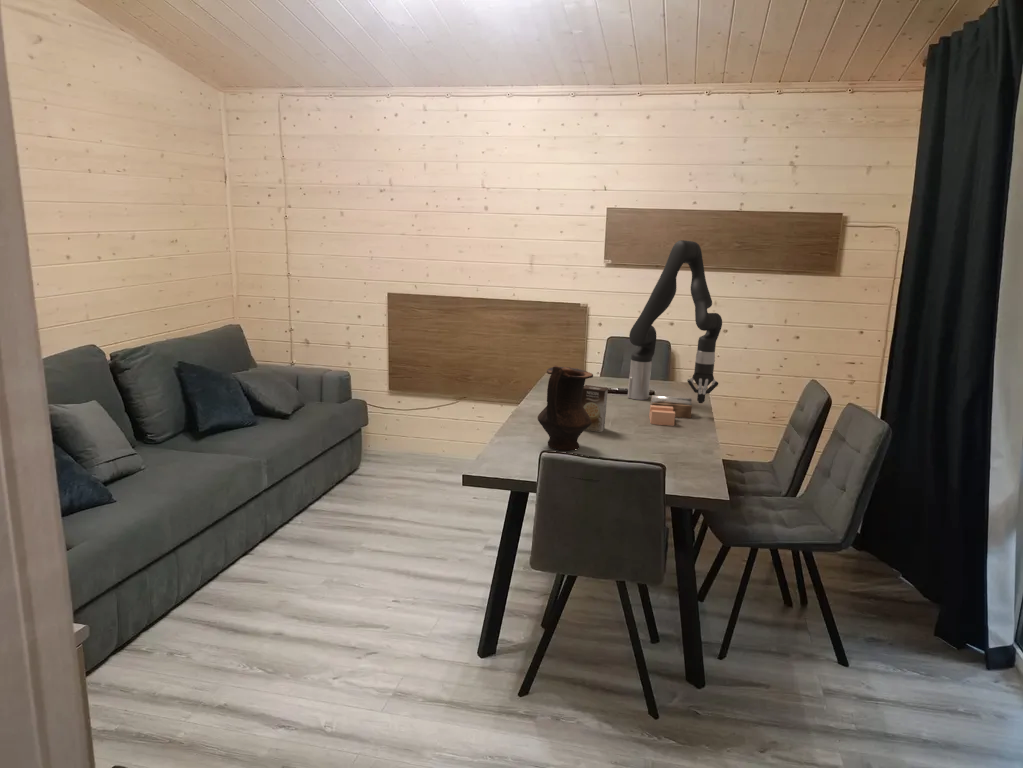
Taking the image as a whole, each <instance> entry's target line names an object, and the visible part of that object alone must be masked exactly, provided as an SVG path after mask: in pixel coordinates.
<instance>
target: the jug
mask: <svg viewBox="0 0 1023 768" xmlns="http://www.w3.org/2000/svg"><path fill="white" fill-rule="evenodd" d="M546 373H547V374H548V375H550V376H549V379H548V384H547V389H546V390H547V391H546V395H547V396H546V406H545V407H544V408H543V409H542V410H541V411H540V413H538V416H537V422H538V423H539V424H540V425H541V427H542V428H543V429H544V431H545V432H546V433H547V435H548V437H549V439H548V441H547V446H548V447H549V448H550V449H553V450H557V451H561V452H571V451H570V450H575V449H577V450H579V449H580V444H579V442H578V440H579V437H580V436H581V435H582V433H583V432H584V431H586V430H585V429H587V428H588V427H589V426H590V425H591V423H592V422H591V419H590V417H589V415H588V413H587V412H586V410H585V409H584V408H583V406H582V402H581V398H582V394H583V389H584V386H585V385H586V384H585V383H586V380H587V379H592V378H593V377H594V374H593V373H592V372H589V371H587V370H583V369H579V368H574V367H570V366H569V367H568V366H558V365H555V364H554V366H552V367H549V368H548V369H547V370H546ZM578 448H579V449H578ZM575 451H576V450H575Z"/></svg>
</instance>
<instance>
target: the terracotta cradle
mask: <svg viewBox="0 0 1023 768" xmlns="http://www.w3.org/2000/svg"><path fill="white" fill-rule="evenodd" d="M648 417H649V421H650V424H651V425H660V426H661V425H662V426H672V427H673V426H675V421H676V417H675V411H673V407H670V406H657V405H650V404H649V415H648Z"/></svg>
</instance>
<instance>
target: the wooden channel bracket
mask: <svg viewBox="0 0 1023 768" xmlns="http://www.w3.org/2000/svg"><path fill="white" fill-rule="evenodd" d="M650 405H651V402H650V403H649V406H650ZM652 405H657V406H670V407H673V411H675V418H681V417H682V418H684V419H691V418H692V410H693V406H692V404H691V405H682V404H668V403H655V402H652ZM682 418H681V419H682Z"/></svg>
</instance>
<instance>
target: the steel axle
mask: <svg viewBox="0 0 1023 768" xmlns="http://www.w3.org/2000/svg"><path fill="white" fill-rule="evenodd" d="M652 402H655V403H668V404H682V405H692V397H685V396H683V397H682V396H669V395H658V394H657V395H655V394H652V395H651V398H650V403H651V405H652Z"/></svg>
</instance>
